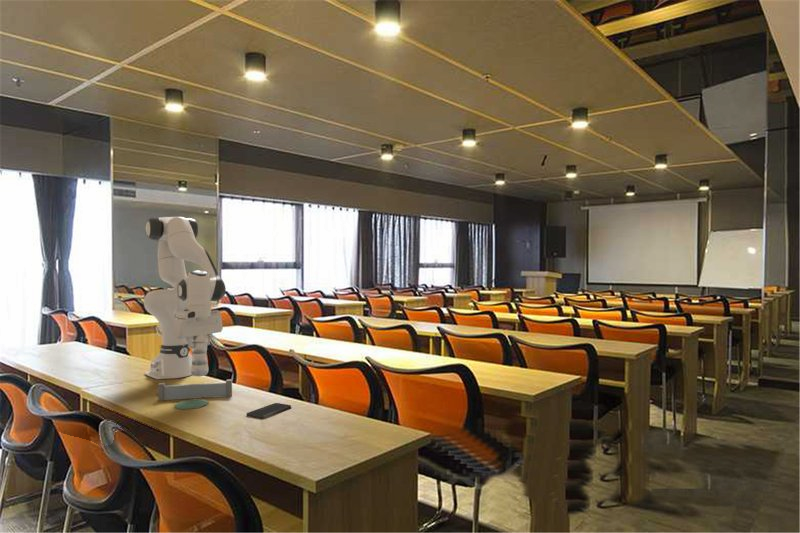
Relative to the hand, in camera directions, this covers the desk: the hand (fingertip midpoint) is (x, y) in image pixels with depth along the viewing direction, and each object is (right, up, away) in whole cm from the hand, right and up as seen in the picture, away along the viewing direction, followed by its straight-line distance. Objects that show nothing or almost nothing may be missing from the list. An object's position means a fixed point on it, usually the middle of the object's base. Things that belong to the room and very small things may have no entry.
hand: (199, 346), depth 203 cm
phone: (+35, -19, -28) cm, 48 cm away
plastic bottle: (0, -12, 0) cm, 12 cm away
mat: (+5, -18, -19) cm, 27 cm away
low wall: (+3, -18, -10) cm, 20 cm away
